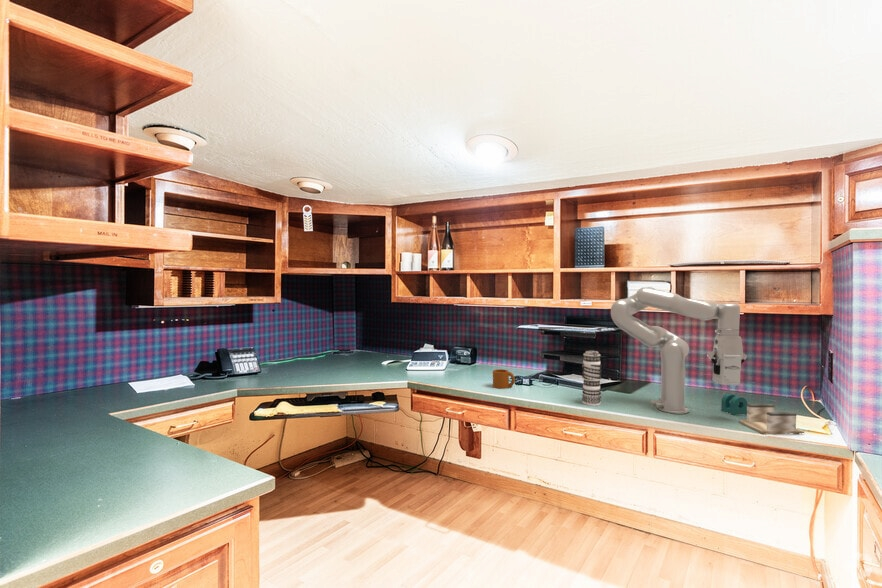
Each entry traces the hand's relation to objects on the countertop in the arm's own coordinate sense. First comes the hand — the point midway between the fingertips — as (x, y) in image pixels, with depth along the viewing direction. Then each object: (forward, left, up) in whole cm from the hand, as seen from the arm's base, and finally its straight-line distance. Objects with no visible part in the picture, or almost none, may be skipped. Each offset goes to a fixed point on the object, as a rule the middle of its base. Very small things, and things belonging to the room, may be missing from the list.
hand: (726, 374), depth 181 cm
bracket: (+15, +10, -20) cm, 27 cm away
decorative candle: (-49, +24, -19) cm, 57 cm away
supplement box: (0, 0, -4) cm, 4 cm away
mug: (-87, +55, -19) cm, 104 cm away
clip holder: (+10, -11, -19) cm, 25 cm away
